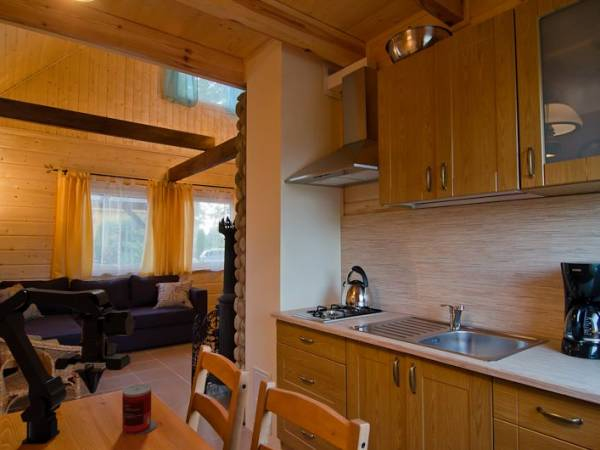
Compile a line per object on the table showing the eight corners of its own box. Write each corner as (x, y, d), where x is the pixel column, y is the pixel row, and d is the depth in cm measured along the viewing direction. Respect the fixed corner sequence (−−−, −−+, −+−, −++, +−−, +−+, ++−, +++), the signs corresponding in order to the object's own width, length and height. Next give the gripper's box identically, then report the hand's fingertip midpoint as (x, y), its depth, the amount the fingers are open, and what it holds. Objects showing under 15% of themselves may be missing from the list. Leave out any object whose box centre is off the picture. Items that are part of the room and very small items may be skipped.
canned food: (145, 418, 115) (145, 381, 115) (155, 428, 109) (155, 389, 109) (118, 427, 110) (118, 388, 110) (127, 437, 104) (128, 396, 104)
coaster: (122, 434, 106) (122, 433, 106) (136, 420, 114) (136, 420, 114) (150, 434, 106) (150, 434, 106) (162, 421, 113) (162, 420, 114)
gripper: (140, 329, 113) (139, 382, 113) (79, 329, 114) (79, 381, 114) (119, 339, 102) (119, 398, 102) (53, 338, 103) (52, 397, 103)
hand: (92, 393), depth 105 cm, fingers closed
